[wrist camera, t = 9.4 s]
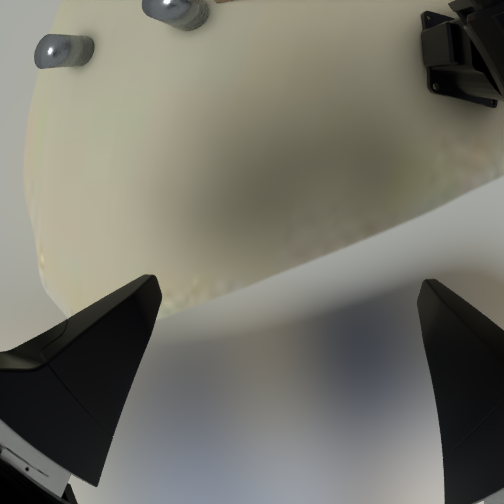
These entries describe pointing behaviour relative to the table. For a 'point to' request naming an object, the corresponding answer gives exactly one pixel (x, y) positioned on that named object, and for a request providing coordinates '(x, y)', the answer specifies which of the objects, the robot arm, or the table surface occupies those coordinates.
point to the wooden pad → (221, 1)
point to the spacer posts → (81, 48)
